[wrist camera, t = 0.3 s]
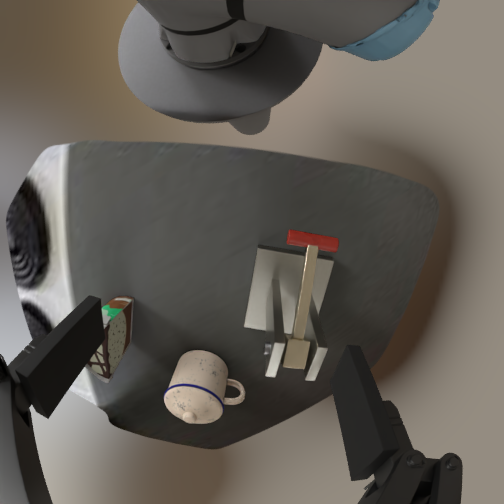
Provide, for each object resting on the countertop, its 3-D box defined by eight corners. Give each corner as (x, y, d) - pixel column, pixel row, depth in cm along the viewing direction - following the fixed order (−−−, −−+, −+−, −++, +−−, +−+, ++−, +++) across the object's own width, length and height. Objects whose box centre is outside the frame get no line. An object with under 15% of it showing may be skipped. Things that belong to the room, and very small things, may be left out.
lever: (287, 231, 28) (291, 227, 26) (333, 239, 28) (341, 236, 26) (266, 358, 27) (268, 365, 24) (312, 363, 27) (318, 370, 24)
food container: (101, 277, 39) (66, 308, 29) (134, 289, 39) (104, 325, 30) (101, 335, 43) (75, 370, 34) (131, 347, 43) (108, 385, 34)
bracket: (258, 244, 36) (253, 301, 22) (331, 257, 36) (367, 316, 22) (244, 321, 40) (234, 396, 26) (310, 330, 40) (325, 405, 26)
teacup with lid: (180, 381, 45) (163, 430, 34) (175, 344, 42) (153, 395, 31) (245, 389, 45) (241, 441, 34) (248, 352, 42) (243, 408, 31)
